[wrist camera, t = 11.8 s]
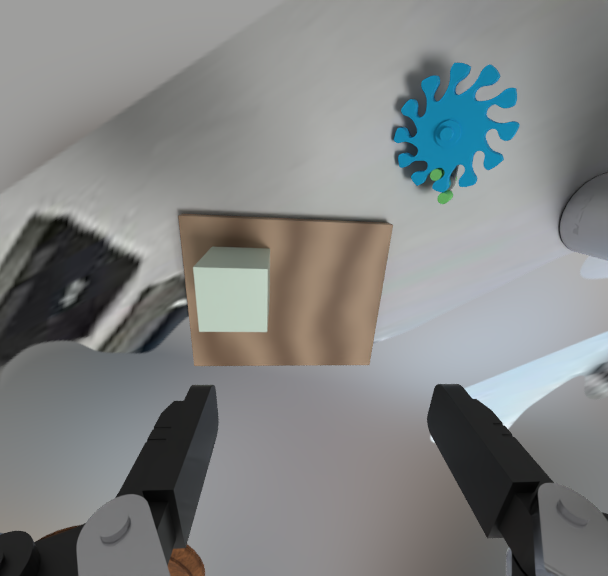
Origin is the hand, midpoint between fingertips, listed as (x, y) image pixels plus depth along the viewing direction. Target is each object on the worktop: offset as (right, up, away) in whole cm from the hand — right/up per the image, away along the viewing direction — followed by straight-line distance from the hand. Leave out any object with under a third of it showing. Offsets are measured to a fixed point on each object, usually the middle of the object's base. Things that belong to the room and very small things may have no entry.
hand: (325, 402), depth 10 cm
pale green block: (-8, +6, +20) cm, 22 cm away
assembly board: (-3, +3, +23) cm, 24 cm away
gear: (+12, +19, +19) cm, 29 cm away
